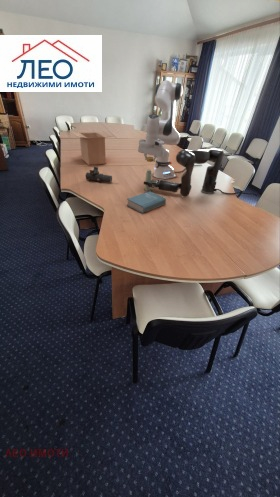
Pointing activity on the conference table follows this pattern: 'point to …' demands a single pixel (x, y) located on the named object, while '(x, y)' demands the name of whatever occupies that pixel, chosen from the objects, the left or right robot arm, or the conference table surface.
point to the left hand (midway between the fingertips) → (150, 160)
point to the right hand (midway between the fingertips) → (144, 181)
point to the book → (146, 201)
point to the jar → (148, 179)
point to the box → (92, 146)
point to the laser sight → (98, 176)
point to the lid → (149, 159)
